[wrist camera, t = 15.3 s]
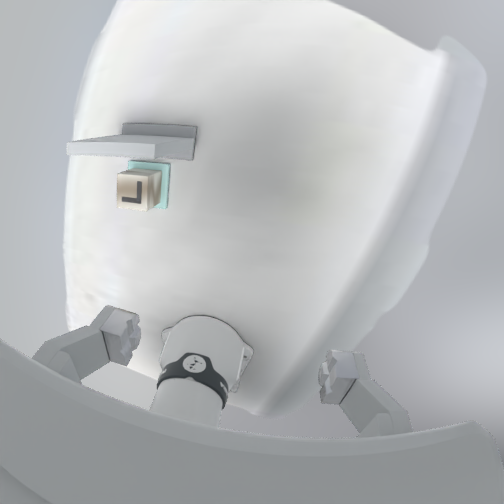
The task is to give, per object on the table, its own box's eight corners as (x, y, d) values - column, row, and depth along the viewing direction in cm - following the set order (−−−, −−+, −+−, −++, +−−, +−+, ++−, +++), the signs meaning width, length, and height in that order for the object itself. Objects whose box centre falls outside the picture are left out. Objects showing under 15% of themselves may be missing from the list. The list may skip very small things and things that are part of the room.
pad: (166, 208, 42) (165, 209, 41) (128, 202, 42) (127, 203, 41) (170, 164, 39) (168, 164, 38) (130, 160, 39) (128, 161, 38)
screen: (192, 159, 38) (152, 176, 25) (122, 154, 38) (66, 169, 26) (196, 126, 36) (157, 126, 23) (125, 123, 36) (67, 127, 23)
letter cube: (160, 202, 41) (146, 212, 36) (132, 198, 41) (116, 207, 36) (162, 170, 38) (147, 176, 34) (132, 168, 38) (116, 173, 34)
